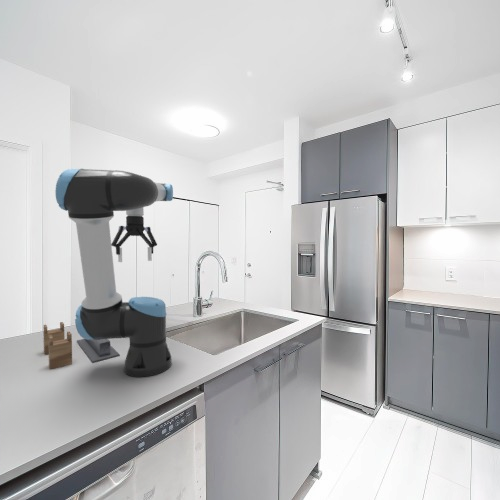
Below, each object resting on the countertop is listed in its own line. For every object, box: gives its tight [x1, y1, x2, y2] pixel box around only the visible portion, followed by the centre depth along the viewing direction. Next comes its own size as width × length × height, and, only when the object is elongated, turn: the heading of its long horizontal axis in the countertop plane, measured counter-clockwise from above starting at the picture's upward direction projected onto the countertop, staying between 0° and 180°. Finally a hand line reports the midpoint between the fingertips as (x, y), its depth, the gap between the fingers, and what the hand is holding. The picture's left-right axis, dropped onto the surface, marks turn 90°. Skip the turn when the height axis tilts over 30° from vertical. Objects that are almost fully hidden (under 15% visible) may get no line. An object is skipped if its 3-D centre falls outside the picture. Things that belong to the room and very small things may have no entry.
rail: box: [85, 339, 111, 357], centre depth 108 cm, size 24×4×5 cm, turn 43°
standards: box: [43, 321, 73, 370], centre depth 99 cm, size 20×6×10 cm, turn 42°
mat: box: [76, 338, 120, 364], centre depth 108 cm, size 28×9×1 cm, turn 42°
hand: (135, 261), depth 126 cm, fingers open, 13 cm apart
